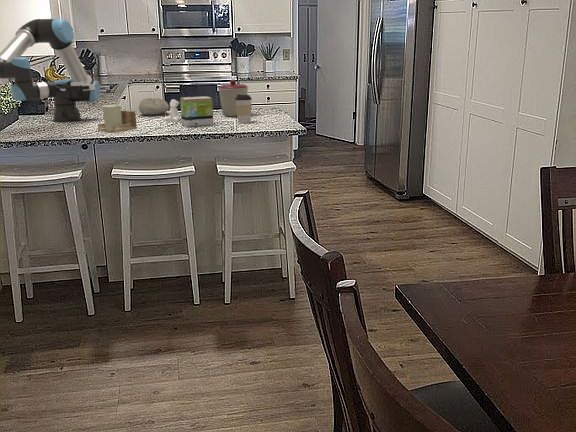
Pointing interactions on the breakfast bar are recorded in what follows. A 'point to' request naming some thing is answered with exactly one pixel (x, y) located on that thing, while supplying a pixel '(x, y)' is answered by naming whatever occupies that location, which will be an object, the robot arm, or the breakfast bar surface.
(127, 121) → the cradle
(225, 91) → the canister
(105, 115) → the can
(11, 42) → the robot arm
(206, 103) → the tea box
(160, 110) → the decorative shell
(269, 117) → the breakfast bar surface
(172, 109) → the white creature statuette
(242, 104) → the coffee cup
